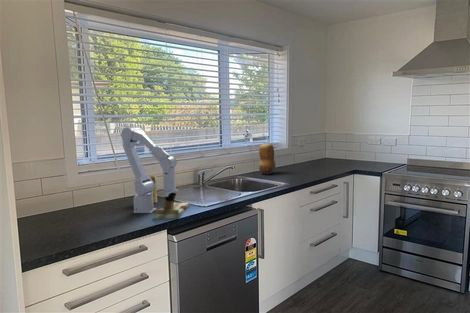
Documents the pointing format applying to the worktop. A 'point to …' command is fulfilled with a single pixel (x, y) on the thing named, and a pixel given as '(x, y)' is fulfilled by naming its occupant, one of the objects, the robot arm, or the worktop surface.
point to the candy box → (154, 189)
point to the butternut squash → (266, 158)
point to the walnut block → (168, 205)
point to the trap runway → (171, 211)
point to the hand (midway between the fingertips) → (170, 207)
